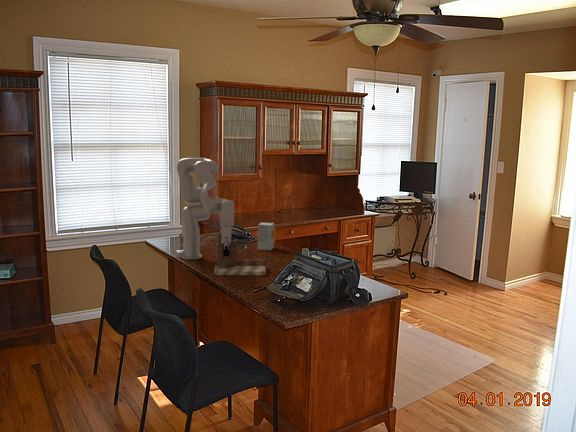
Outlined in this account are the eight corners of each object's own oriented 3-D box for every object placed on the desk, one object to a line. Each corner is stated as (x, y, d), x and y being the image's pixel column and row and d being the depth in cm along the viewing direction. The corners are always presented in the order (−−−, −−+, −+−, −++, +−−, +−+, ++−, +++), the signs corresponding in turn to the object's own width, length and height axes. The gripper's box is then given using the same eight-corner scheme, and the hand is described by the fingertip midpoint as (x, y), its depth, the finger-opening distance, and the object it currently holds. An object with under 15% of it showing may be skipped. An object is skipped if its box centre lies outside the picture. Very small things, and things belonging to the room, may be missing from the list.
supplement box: (271, 250, 330) (271, 225, 327) (257, 249, 331) (257, 224, 328) (273, 247, 339) (274, 222, 336) (260, 246, 341) (261, 222, 338)
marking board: (213, 274, 272) (213, 265, 271) (215, 267, 286) (215, 259, 285) (265, 275, 274) (266, 266, 273) (265, 268, 288) (265, 259, 287)
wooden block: (236, 264, 281) (237, 233, 278) (217, 265, 278) (218, 233, 275) (235, 263, 285) (236, 231, 282) (216, 264, 281) (216, 232, 278)
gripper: (220, 220, 285) (220, 251, 288) (219, 225, 269) (218, 259, 272) (234, 220, 286) (233, 251, 289) (233, 226, 269) (232, 259, 273)
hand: (226, 254), depth 280 cm, fingers closed on wooden block, 4 cm apart
